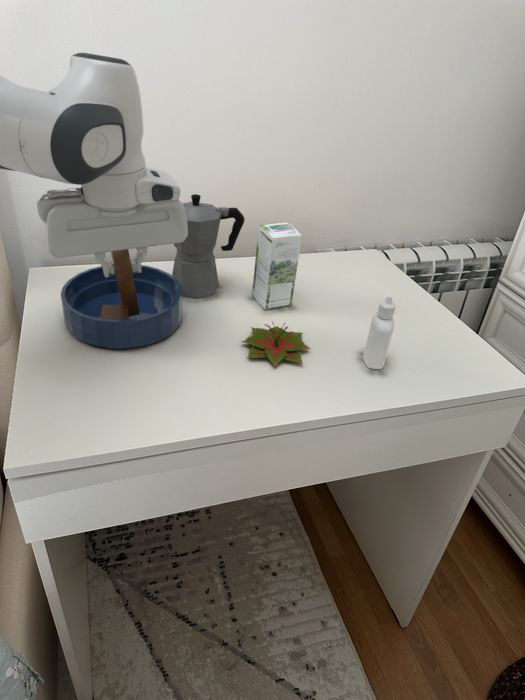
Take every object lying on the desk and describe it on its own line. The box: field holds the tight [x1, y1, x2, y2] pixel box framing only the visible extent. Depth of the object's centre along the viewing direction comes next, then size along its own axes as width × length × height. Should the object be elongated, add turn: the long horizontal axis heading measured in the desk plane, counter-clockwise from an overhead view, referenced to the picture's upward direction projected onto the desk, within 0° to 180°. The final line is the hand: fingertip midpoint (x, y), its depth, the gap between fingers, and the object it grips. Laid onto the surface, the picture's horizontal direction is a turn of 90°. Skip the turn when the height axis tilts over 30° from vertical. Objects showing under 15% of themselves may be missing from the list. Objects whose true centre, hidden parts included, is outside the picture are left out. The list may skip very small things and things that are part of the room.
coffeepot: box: [171, 193, 245, 299], centre depth 97 cm, size 15×9×18 cm, turn 103°
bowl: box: [60, 264, 183, 349], centre depth 90 cm, size 19×19×6 cm
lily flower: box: [240, 320, 311, 368], centre depth 86 cm, size 12×12×5 cm
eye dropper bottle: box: [362, 294, 396, 370], centre depth 84 cm, size 4×6×12 cm
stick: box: [110, 249, 140, 317], centre depth 83 cm, size 2×2×14 cm
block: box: [101, 305, 130, 320], centre depth 85 cm, size 4×4×4 cm
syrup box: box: [251, 221, 303, 311], centre depth 96 cm, size 6×6×14 cm
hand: (122, 273), depth 82 cm, fingers closed on stick, 3 cm apart
